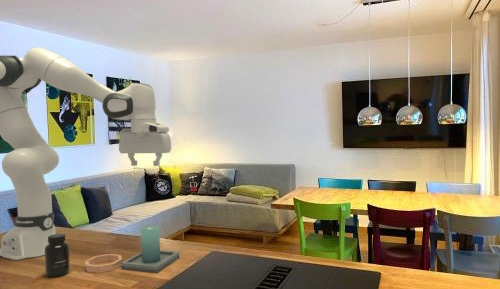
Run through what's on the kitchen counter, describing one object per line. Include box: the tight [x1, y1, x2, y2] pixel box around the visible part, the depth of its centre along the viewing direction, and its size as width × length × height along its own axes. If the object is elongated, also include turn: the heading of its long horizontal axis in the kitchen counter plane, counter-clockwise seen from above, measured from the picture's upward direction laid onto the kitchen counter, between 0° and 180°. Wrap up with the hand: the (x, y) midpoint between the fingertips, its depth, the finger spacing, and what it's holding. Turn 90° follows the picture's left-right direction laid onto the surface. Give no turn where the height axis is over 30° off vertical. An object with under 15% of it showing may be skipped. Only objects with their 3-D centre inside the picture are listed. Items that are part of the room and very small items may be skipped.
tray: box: [120, 249, 180, 274], centre depth 123 cm, size 13×14×2 cm
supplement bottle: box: [44, 233, 71, 278], centre depth 116 cm, size 7×7×12 cm
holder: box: [84, 253, 124, 274], centre depth 122 cm, size 11×11×2 cm
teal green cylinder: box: [140, 224, 161, 263], centre depth 123 cm, size 6×6×11 cm
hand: (145, 165), depth 136 cm, fingers open, 8 cm apart
